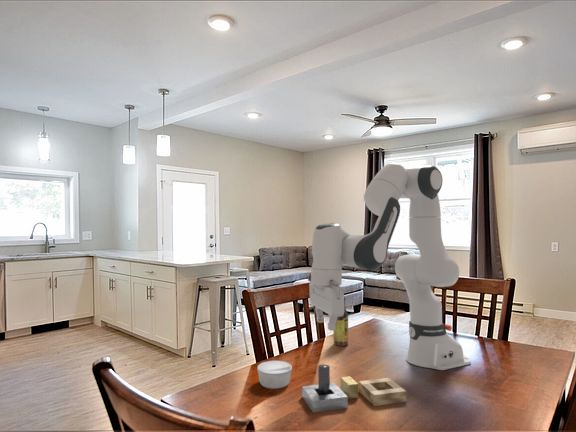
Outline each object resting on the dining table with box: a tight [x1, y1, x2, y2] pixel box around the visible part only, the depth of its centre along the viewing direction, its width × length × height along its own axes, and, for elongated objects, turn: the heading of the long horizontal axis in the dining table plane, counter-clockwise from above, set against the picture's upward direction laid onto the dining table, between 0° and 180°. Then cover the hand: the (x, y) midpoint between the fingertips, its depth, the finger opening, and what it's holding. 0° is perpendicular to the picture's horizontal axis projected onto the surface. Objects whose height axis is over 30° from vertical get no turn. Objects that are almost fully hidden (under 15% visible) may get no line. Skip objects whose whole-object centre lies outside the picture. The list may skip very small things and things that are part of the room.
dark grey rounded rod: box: [317, 364, 331, 396], centre depth 111 cm, size 3×3×10 cm
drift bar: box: [340, 375, 359, 400], centre depth 116 cm, size 3×6×4 cm, turn 15°
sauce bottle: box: [332, 296, 349, 347], centre depth 165 cm, size 7×6×20 cm
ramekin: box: [256, 360, 293, 390], centre depth 124 cm, size 11×11×5 cm
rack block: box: [358, 377, 407, 407], centre depth 114 cm, size 10×10×3 cm
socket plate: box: [301, 382, 349, 413], centre depth 111 cm, size 10×10×3 cm
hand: (325, 325), depth 114 cm, fingers open, 8 cm apart
